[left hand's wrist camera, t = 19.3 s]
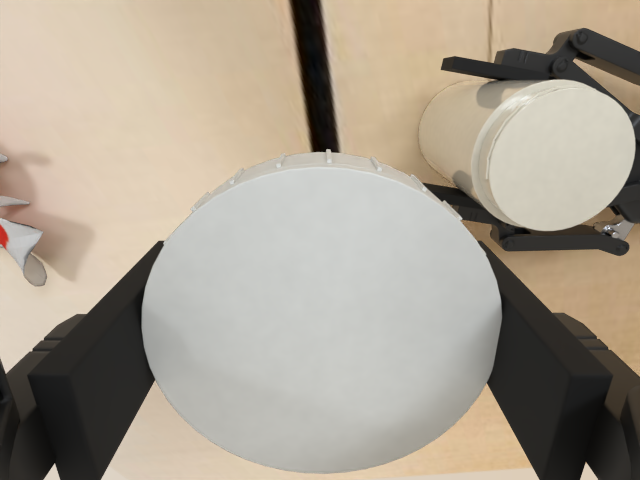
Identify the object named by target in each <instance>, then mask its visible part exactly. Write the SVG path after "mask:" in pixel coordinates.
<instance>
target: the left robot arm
mask: <svg viewBox="0 0 640 480" xmlns="http://www.w3.org/2000/svg"><path fill="white" fill-rule="evenodd" d="M477 242H478V244H479V245H480V247H481V248H482V249H483V250H484V251H485V253H486V257H487V258H488V260H489V263H490V265H491V268H492V270H493V273H494V275H495V278H496V280H497V285H498V289H499V293H500V298H501V306H502V322H501V327H500V333H499V338H498V343H497V349H496V354H495V359H494V365H493V369H492V372H491V375H490V377H489V379H488V381H487V384H488V386H489V388H490V390H491V391H492V393H493V395H494V397H495V399H496V401H497V402H498V404H499V406H500V408H501V410H502V412H503V413H504V415H505V417H506V419H507V421H508V423H509V424H510V426H511V428H512V430H513V432H514V434H515V435H516V437H517V439H518V441H519V443H520V445H521V447H522V448H523V450H524V452H525V454H526V456H527V458H528V459H529V461H530V463H531V465H532V467H533V469H534V470H535V472H536V474H537V476H538V478H539V480H580V478H581V475H582V472H583V469H584V465H585V462H587V464H588V465H589V467H590V468H591V469H592V471H593V472H594V474H595V475H596V477H597V478H598V480H640V377H639V376H638V375H637V374H636V373H635V372H634V371H633V370H632V369H631V368H630V367H629V366H627V365H626V364H625V363H624V362H623V361H622V360H621V359H620V358H619V357H618V356H617V355H616V354H615V353H614V352H613V351H612V350H608V347H607V346H606V345H605V344H604V343H603V342H602V341H601V340H600V339H597V336H596V335H594V334H593V333H592V332H591V331H590V330H589V329H588V328H587V327H586V326H585V325H584V324H583V323H581V322H579V321H577V320H575V319H574V318H572V317H570V316H568V315H567V314H565V313H552V312H551V311H550V310H549V309H548V308H547V307H546V306H545V305H544V304H543V303H542V302H541V301H540V300H539V299H538V298H537V297H536V296H535V295H534V294H533V293H532V292H531V291H530V290H529V289H528V288H527V287H526V286H525V285H524V284H523V283H522V282H521V281H520V280H519V279H518V278H517V277H516V276H515V275H514V274H513V273H512V271H511V270H510V269H509V268H508V267H507V266H506V265H505V264H504V263H503V262H502V261H501V260H500V259H499V258H498V257H497V256H496V255H495V254H494V253H493V252H492V251H491V250H490V249H489V248H488V247H487V246H486V245H485V244H484V243H483V242H482V241H477ZM163 243H164V241H158V242H157V243H156V244H155V245H154V246H153V247H152V248H151V249H150V250H149V251H148V252H147V253H146V254H145V255H144V257H143V258H142V259H141V260H140V261H139V262H138V263H137V264H136V265H135V266H134V267H133V268H132V269H131V270H130V271H129V272H128V273H127V274H126V275H125V276H124V277H123V278H122V279H121V280H120V281H119V282H118V283H117V284H116V285H115V286H114V287H113V288H112V289H111V290H110V291H109V292H108V293H107V294H106V295H105V296H104V297H103V298H102V299H101V300H100V301H99V302H98V303H97V304H96V305H95V306H94V307H93V308H92V309H91V310H90V311H89V313H88V314H76V315H75V316H73V317H71V318H69V319H68V320H66V321H64V322H62V323H61V324H59V325H57V326H56V327H55V328H54V329H53V330H52V331H51V332H50V333H49V334H48V335H47V336H46V337H45V338H44V341H40V342H39V343H38V344H37V345H36V346H35V347H34V348H33V351H32V352H29V353H28V354H27V355H26V356H24V357H23V358H22V359H21V360H20V361H19V362H18V363H17V364H16V365H15V366H14V367H13V368H12V369H11V370H10V371H9V372H8V373H7V374H5V371H4V368H3V365H2V362H1V359H0V480H43V479H44V478H45V476H46V475H47V474H48V472H49V471H50V469H51V468H52V466H53V465H54V463H55V464H56V467H57V471H58V474H59V477H60V480H101V478H102V476H103V475H104V473H105V471H106V469H107V467H108V465H109V464H110V462H111V460H112V458H113V456H114V454H115V452H116V451H117V449H118V447H119V445H120V443H121V441H122V440H123V438H124V436H125V434H126V432H127V430H128V429H129V427H130V425H131V423H132V421H133V419H134V418H135V416H136V414H137V412H138V410H139V408H140V407H141V405H142V403H143V401H144V399H145V397H146V396H147V394H148V392H149V390H150V388H151V386H152V384H153V383H154V381H155V378H154V375H153V373H152V371H151V369H150V366H149V363H148V360H147V356H146V353H145V349H144V344H143V336H142V329H141V323H142V303H143V298H144V292H145V287H146V284H147V281H148V278H149V275H150V272H151V270H152V267H153V265H154V263H155V261H156V259H157V257H158V255H159V253H160V252H161V250H162V248H163V246H164V244H163Z"/></svg>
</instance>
